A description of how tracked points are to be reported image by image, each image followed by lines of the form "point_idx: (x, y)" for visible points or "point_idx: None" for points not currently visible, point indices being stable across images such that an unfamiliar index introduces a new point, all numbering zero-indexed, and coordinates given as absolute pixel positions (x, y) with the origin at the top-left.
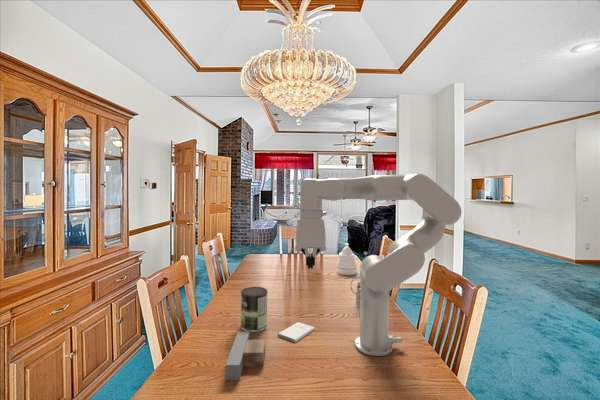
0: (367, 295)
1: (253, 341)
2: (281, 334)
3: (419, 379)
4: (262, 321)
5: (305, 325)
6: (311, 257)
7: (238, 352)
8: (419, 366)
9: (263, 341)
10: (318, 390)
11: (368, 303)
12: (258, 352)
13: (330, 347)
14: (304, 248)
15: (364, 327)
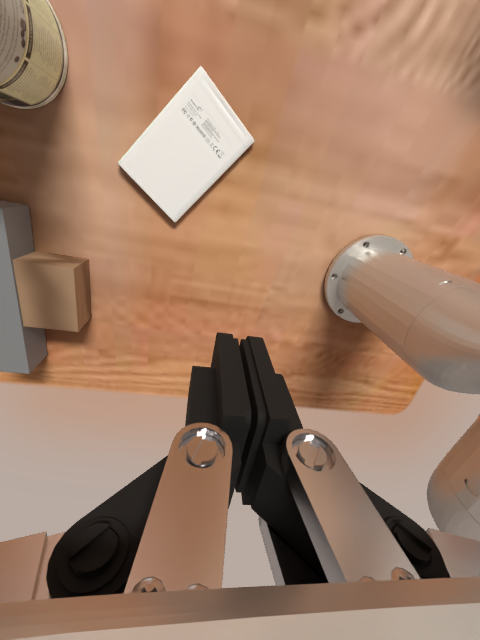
0: (436, 380)
1: (36, 273)
2: (130, 176)
3: (370, 384)
4: (35, 87)
5: (224, 116)
6: (243, 491)
7: (8, 327)
8: None
9: (69, 278)
10: None
11: (414, 369)
12: (65, 330)
13: (265, 264)
14: (131, 581)
15: (363, 317)
